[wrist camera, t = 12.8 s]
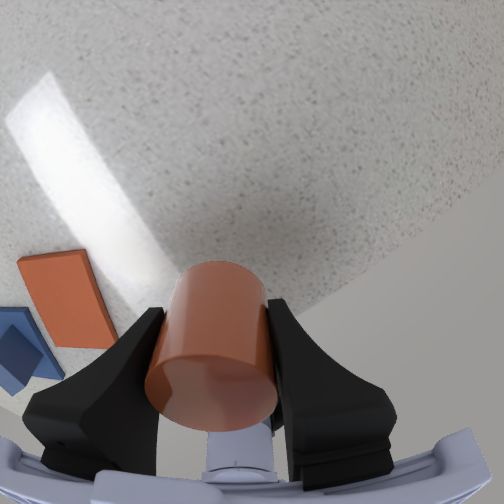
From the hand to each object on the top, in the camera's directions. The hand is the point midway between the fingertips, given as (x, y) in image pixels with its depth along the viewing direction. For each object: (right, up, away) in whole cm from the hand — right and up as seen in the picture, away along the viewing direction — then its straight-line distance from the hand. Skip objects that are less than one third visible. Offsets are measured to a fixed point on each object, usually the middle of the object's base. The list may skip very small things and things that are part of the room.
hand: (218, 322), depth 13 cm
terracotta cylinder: (0, +1, +1) cm, 1 cm away
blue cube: (-22, -7, +11) cm, 26 cm away
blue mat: (-22, -6, +12) cm, 26 cm away
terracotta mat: (-14, -1, +10) cm, 17 cm away
